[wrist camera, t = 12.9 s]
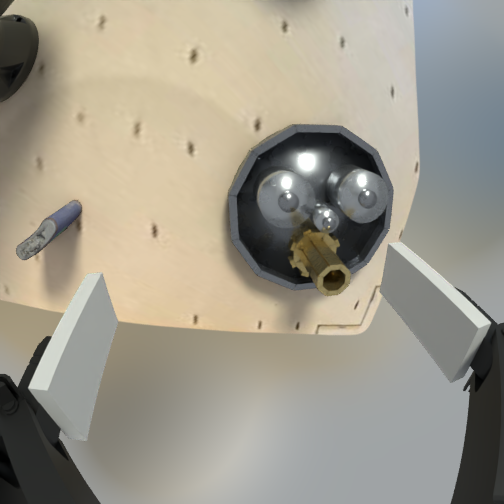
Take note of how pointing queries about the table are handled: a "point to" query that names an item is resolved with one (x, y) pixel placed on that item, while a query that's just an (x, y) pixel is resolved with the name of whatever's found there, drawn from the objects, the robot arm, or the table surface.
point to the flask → (49, 230)
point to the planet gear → (319, 260)
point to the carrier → (309, 199)
